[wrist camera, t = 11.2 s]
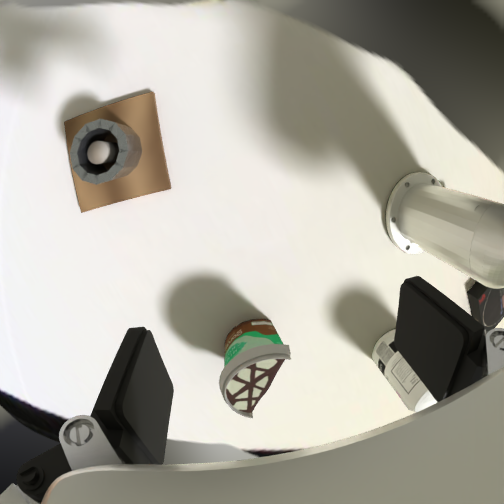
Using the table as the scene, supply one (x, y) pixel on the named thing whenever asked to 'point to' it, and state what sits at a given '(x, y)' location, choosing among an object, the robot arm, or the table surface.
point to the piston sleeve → (98, 132)
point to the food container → (250, 364)
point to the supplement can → (401, 374)
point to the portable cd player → (486, 305)
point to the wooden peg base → (106, 152)
